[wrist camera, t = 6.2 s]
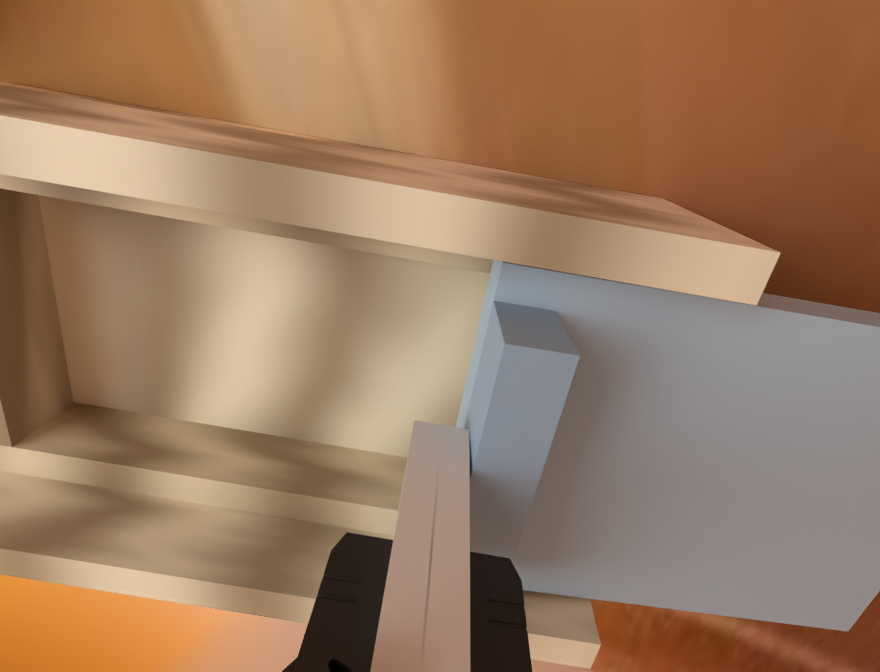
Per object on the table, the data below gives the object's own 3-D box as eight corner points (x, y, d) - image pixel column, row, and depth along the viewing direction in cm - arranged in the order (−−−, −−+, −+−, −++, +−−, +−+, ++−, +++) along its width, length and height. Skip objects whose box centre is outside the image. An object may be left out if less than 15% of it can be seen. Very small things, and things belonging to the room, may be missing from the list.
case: (70, 430, 22) (-91, 559, 16) (8, 82, 16) (-284, 65, 10) (556, 511, 23) (590, 668, 16) (663, 198, 17) (780, 252, 10)
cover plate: (429, 542, 18) (426, 653, 14) (496, 246, 13) (516, 298, 10) (819, 593, 19) (907, 709, 15) (1002, 334, 15) (1189, 411, 11)
